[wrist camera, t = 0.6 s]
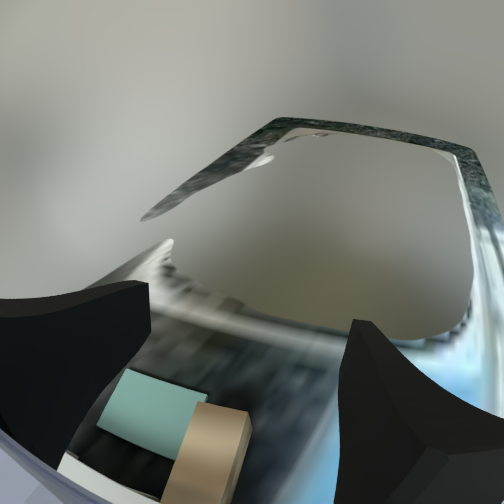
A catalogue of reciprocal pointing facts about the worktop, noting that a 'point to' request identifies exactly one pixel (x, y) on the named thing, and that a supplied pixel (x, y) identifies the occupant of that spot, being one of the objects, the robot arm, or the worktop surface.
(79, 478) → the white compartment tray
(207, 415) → the beech bar
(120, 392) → the teal mat
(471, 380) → the worktop surface
